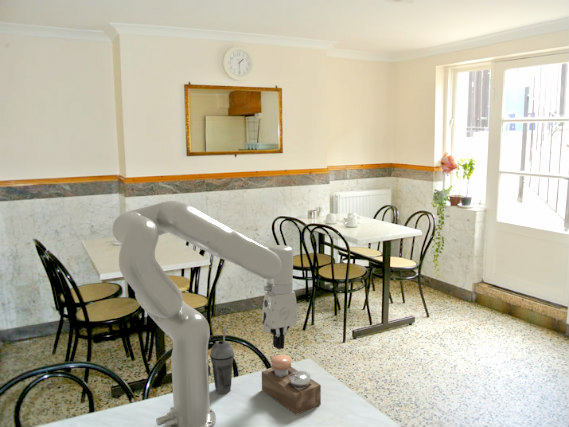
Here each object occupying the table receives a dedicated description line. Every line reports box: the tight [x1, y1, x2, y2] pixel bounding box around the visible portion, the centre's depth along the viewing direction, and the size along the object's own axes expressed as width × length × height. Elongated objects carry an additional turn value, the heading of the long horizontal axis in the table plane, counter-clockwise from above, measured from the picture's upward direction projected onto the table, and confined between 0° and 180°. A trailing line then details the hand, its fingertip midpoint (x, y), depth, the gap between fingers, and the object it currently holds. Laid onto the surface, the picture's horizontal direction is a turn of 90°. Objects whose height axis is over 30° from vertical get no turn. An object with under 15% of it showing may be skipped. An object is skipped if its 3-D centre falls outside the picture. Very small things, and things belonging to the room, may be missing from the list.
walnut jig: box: [261, 366, 322, 416], centre depth 146 cm, size 9×17×6 cm, turn 36°
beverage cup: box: [209, 326, 235, 395], centre depth 149 cm, size 7×7×20 cm
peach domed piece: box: [270, 354, 292, 378], centre depth 149 cm, size 6×6×8 cm
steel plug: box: [289, 370, 311, 390], centre depth 142 cm, size 6×6×8 cm
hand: (278, 347), depth 147 cm, fingers closed
